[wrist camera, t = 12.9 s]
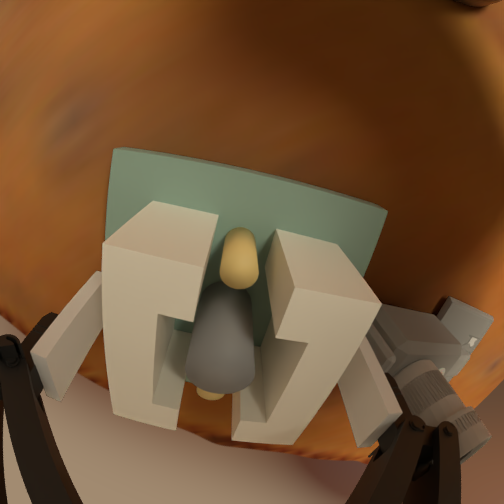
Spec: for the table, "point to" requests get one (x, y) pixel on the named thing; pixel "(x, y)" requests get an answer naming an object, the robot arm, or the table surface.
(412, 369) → the camera
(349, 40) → the table surface
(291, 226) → the board
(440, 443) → the robot arm
